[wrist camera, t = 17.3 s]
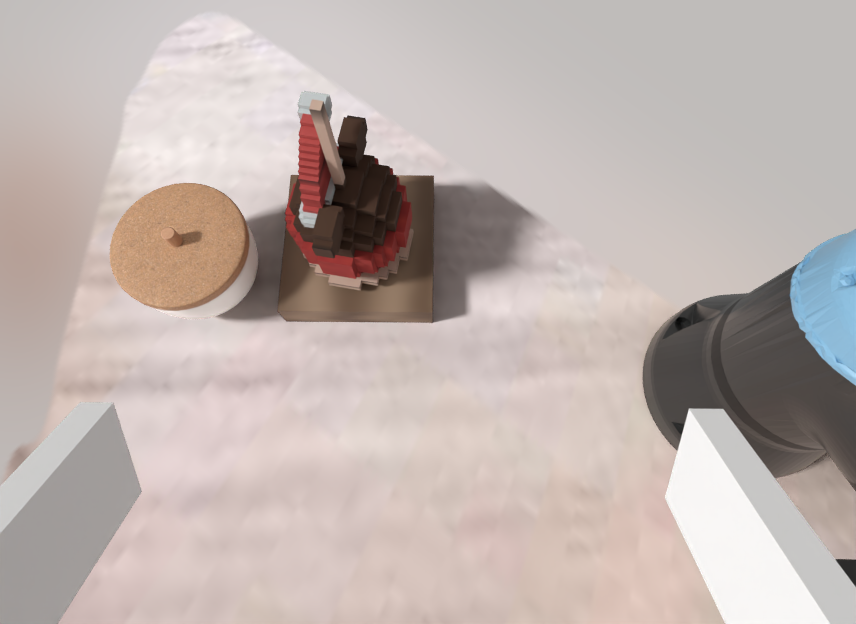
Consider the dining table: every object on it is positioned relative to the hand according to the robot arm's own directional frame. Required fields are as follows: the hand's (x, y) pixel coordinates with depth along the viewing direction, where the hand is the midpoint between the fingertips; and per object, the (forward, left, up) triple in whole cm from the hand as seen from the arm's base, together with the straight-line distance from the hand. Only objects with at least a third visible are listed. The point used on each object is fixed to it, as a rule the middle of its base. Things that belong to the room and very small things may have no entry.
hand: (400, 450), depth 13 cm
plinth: (+6, -20, -34) cm, 39 cm away
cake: (+6, -20, -31) cm, 37 cm away
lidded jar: (+19, -17, -34) cm, 43 cm away
